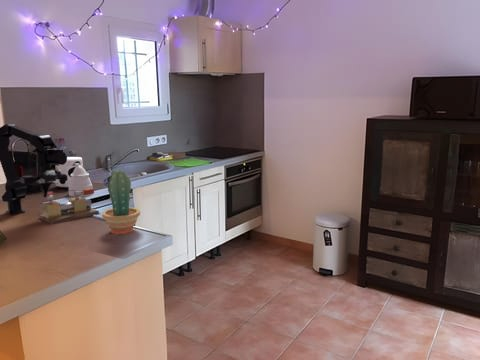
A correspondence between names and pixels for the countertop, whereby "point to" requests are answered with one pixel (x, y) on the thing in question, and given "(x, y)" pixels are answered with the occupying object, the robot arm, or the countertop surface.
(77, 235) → the countertop surface
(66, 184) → the milk container
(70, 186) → the honey pot
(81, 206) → the pipe manifold
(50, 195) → the valve lever
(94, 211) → the beige flat board
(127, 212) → the potted cactus
